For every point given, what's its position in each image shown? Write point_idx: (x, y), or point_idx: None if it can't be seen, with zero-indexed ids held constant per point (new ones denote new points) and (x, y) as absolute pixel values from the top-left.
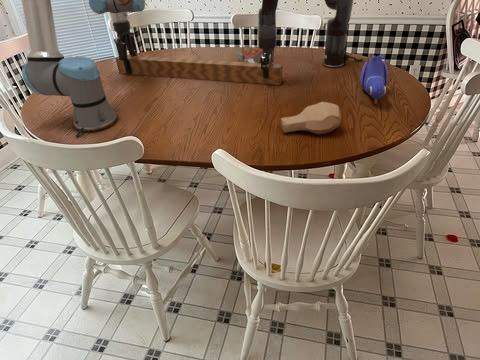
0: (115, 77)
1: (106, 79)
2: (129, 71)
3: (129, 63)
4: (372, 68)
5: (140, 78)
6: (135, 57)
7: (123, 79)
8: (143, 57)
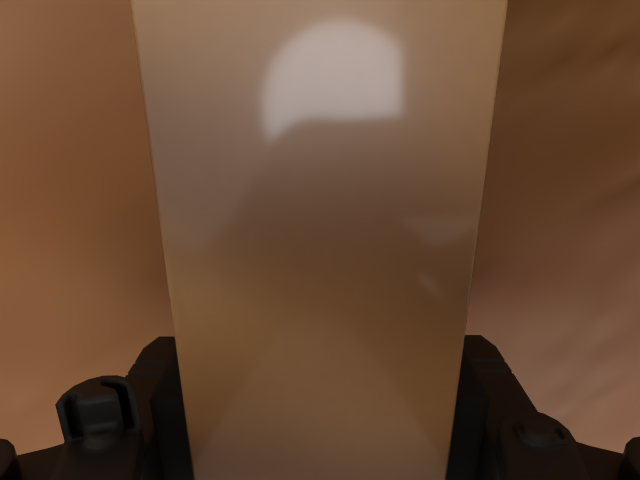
0: None
1: None
2: None
3: None
4: None
5: (551, 13)
6: (296, 312)
7: (592, 268)
8: (239, 24)
